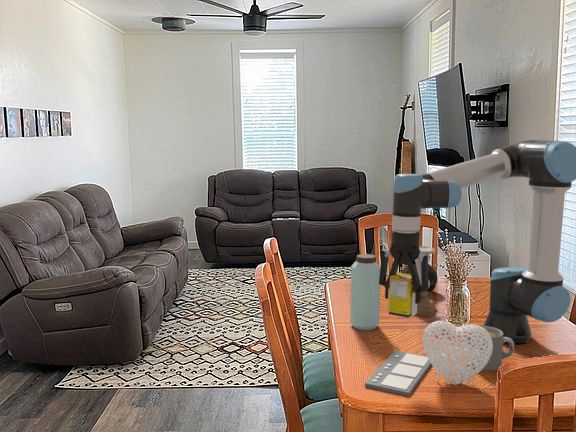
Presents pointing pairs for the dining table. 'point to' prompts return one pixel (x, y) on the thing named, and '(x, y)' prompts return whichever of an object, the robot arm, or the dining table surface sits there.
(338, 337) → the dining table surface
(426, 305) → the candle holder
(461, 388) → the dining table surface
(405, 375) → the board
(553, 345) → the dining table surface
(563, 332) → the dining table surface
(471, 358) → the decorative heart
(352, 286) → the water bottle
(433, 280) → the squash
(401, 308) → the supplement box
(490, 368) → the coffee mug
